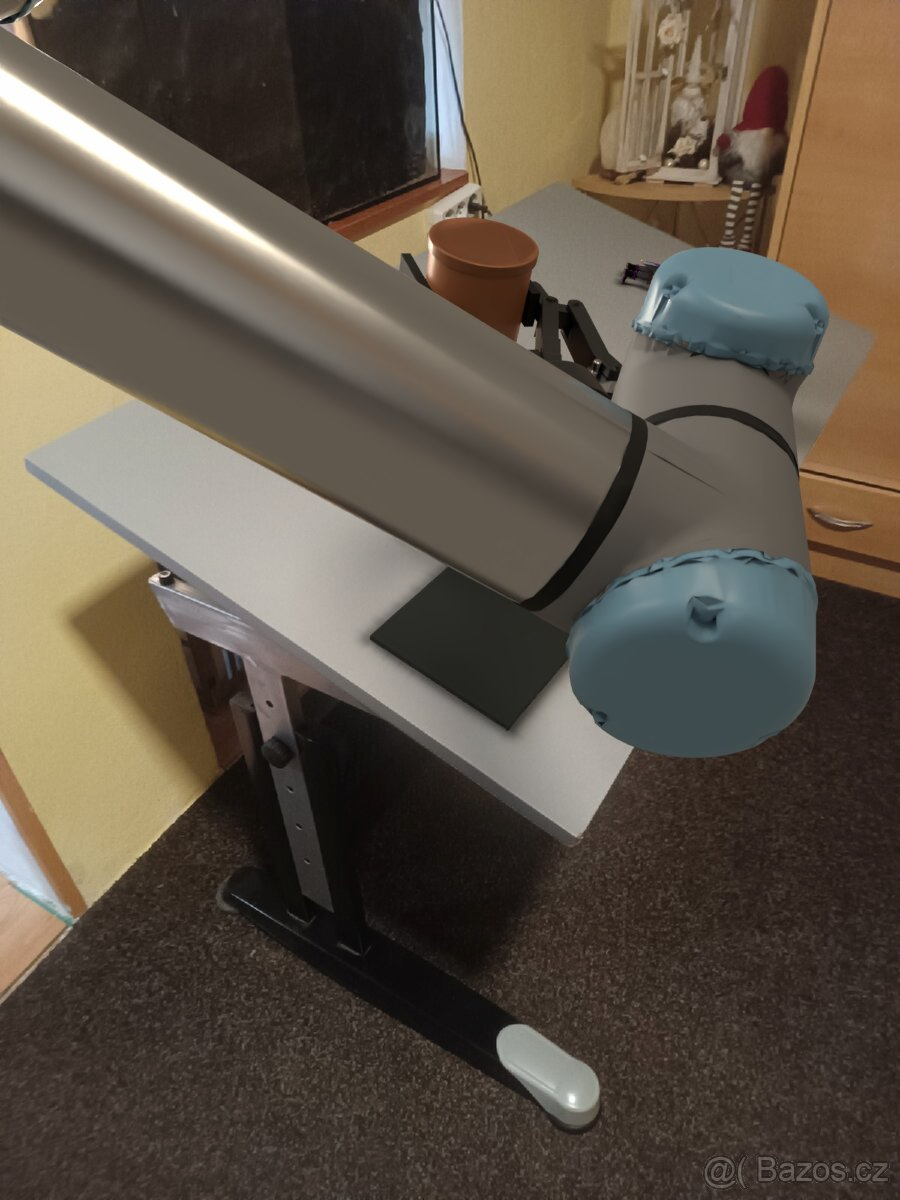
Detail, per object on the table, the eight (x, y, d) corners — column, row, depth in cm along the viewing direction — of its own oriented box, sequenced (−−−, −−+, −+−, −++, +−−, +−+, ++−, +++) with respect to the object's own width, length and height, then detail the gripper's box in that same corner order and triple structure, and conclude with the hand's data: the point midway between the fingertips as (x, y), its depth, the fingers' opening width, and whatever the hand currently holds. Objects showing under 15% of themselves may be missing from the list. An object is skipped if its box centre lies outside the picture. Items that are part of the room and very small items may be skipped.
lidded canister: (399, 435, 67) (420, 253, 56) (415, 383, 72) (436, 208, 62) (496, 454, 67) (535, 276, 56) (504, 401, 73) (542, 229, 62)
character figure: (615, 294, 122) (723, 320, 120) (622, 269, 119) (732, 296, 117) (626, 270, 129) (729, 294, 126) (632, 246, 126) (737, 270, 123)
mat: (369, 639, 70) (369, 635, 69) (451, 567, 77) (452, 562, 77) (507, 731, 65) (508, 727, 65) (579, 644, 73) (581, 640, 72)
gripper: (399, 506, 50) (324, 317, 65) (687, 479, 57) (560, 312, 71) (412, 401, 45) (327, 220, 59) (729, 384, 51) (583, 223, 66)
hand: (454, 270), depth 65 cm, fingers closed on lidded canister, 8 cm apart
